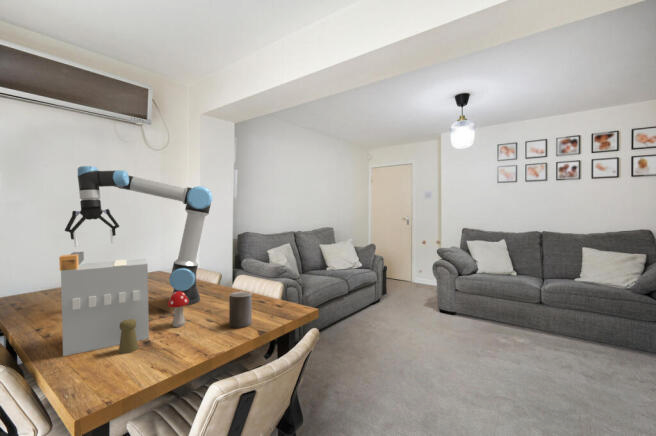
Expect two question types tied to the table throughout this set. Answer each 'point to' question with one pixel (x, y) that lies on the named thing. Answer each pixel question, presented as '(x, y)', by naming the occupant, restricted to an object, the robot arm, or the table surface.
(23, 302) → the table surface
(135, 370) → the table surface
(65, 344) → the breaker panel
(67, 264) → the handle
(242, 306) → the pillar candle
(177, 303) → the decorative mushroom
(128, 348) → the cork
